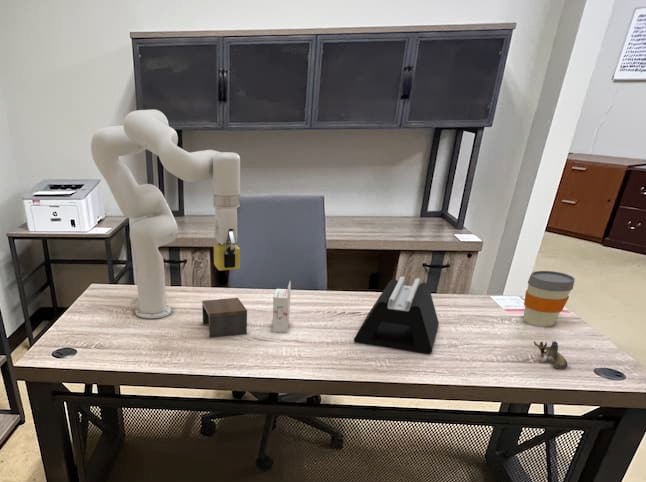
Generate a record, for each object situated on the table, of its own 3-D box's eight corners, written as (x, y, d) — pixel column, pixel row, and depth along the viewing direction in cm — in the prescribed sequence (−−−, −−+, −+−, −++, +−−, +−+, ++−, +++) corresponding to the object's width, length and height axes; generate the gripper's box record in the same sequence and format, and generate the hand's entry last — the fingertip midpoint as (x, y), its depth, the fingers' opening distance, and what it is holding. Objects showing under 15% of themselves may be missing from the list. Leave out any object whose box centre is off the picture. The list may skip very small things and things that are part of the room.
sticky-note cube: (218, 270, 156) (218, 250, 153) (213, 264, 161) (213, 244, 158) (240, 268, 157) (240, 248, 154) (234, 262, 162) (234, 243, 159)
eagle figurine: (524, 353, 151) (549, 361, 143) (539, 331, 150) (565, 338, 141) (541, 365, 154) (567, 373, 145) (557, 343, 152) (583, 351, 144)
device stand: (438, 326, 172) (448, 281, 164) (431, 354, 154) (441, 305, 146) (367, 316, 180) (374, 273, 172) (353, 342, 162) (359, 295, 155)
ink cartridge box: (274, 322, 177) (276, 279, 170) (288, 323, 176) (291, 279, 169) (271, 332, 170) (273, 287, 162) (286, 333, 169) (289, 288, 162)
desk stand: (209, 337, 167) (209, 313, 163) (202, 323, 177) (202, 300, 173) (246, 334, 169) (247, 310, 165) (237, 320, 179) (237, 297, 175)
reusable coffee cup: (551, 331, 167) (567, 285, 159) (510, 321, 175) (523, 276, 167) (566, 321, 174) (582, 276, 166) (526, 311, 182) (539, 268, 174)
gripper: (207, 196, 156) (208, 257, 165) (220, 207, 142) (221, 273, 151) (231, 195, 158) (231, 255, 167) (247, 205, 143) (246, 271, 152)
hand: (226, 263), depth 159 cm, fingers closed on sticky-note cube, 6 cm apart
